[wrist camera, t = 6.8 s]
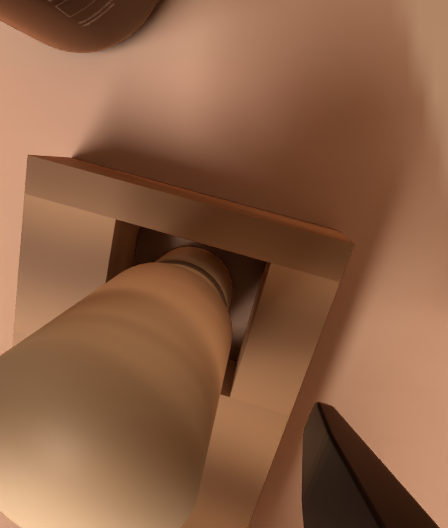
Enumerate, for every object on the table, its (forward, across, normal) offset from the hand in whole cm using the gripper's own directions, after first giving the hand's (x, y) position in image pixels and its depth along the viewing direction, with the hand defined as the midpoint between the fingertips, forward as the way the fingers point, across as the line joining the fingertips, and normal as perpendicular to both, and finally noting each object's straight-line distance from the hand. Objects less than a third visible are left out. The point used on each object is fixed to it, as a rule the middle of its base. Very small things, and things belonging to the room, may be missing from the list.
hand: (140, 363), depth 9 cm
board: (+6, 0, +4) cm, 7 cm away
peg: (+6, 0, 0) cm, 6 cm away
